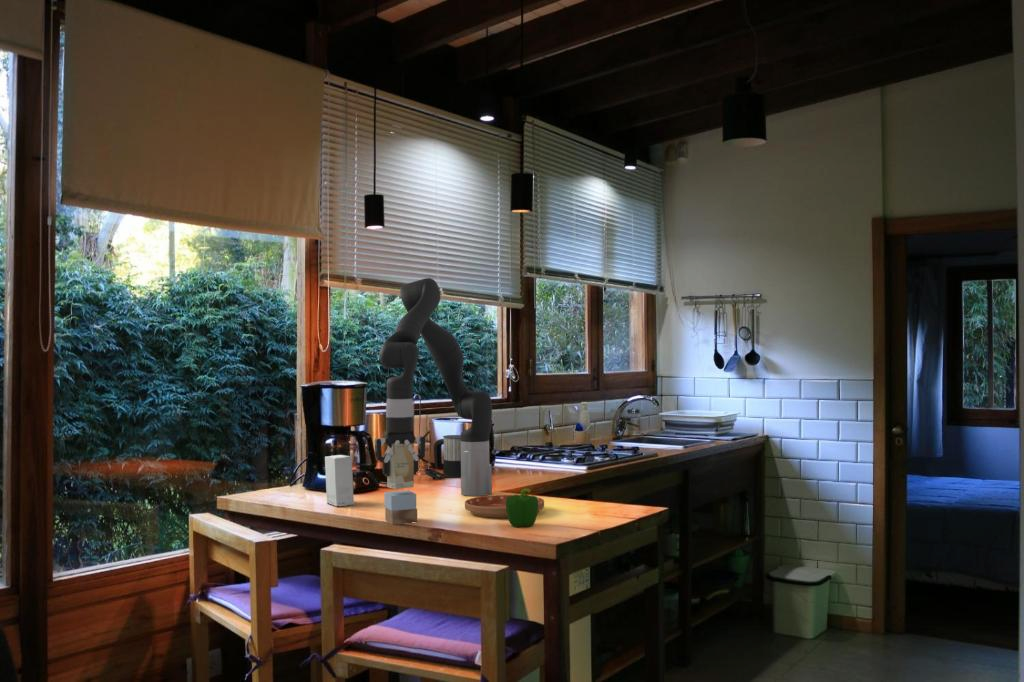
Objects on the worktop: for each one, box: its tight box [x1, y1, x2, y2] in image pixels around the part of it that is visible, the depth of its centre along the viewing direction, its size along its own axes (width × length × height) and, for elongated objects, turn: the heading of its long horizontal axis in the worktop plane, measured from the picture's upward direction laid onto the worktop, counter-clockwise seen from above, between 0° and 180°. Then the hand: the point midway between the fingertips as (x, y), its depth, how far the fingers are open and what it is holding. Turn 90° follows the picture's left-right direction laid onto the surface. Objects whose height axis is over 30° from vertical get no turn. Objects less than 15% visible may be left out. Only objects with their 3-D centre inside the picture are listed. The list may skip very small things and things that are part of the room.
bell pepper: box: [506, 488, 539, 528], centre depth 244 cm, size 8×8×10 cm
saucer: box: [464, 494, 545, 519], centre depth 263 cm, size 23×23×4 cm
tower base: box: [384, 507, 418, 526], centre depth 251 cm, size 7×7×4 cm
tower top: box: [383, 489, 417, 511], centre depth 251 cm, size 7×7×4 cm
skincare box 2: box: [386, 442, 415, 490], centre depth 251 cm, size 6×4×12 cm
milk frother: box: [423, 434, 461, 480], centre depth 332 cm, size 14×16×15 cm
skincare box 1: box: [324, 454, 355, 507], centre depth 278 cm, size 8×6×15 cm
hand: (400, 475), depth 251 cm, fingers closed on skincare box 2, 7 cm apart
